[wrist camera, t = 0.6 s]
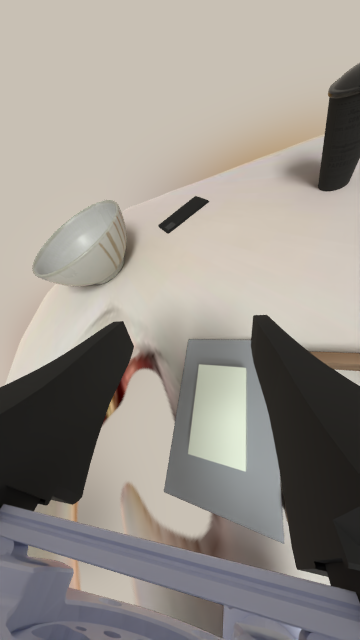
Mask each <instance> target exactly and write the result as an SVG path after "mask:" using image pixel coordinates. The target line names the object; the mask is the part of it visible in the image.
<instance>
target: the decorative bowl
mask: <svg viewBox="0 0 360 640" xmlns="http://www.w3.org/2000/svg"><path fill="white" fill-rule="evenodd" d="M126 244H127V236H126V227H125V223H124V219H123V216H122V213H121V210H120V208H119V206H118V204H117V203H116V202H114V201H111V200H106V201H102V202H99V203H96V204H94V205H92V206H90V207H88V208H86V209H84V210H83V211H81V212H79V213H78V214H76V215H75V216H74V217H72V218H71V219H70V220H68V221H67V222H66V223H65V224H64V225H62V226H61V227H60V228H59V229H58V230H57V231H56V232H55V233H54V234H53V235H52V236H51V237H50V238H49V239H48V241H47V242H46V243H45V244H44V245H43V247H42V248H41V250H40V251H39V253H38V254H37V256H36V258H35V260H34V263H33V268H32V269H33V273H34V274H35V275H36V276H37V277H40V278H42V279H45V280H47V281H50V282H53V283H57V284H61V285H67V286H87V285H92V284H96V285H99V284H103V283H106V282H108V281H109V280H111V279H112V278H113V277H115V276H116V275H117V274H118V272H119V271H120V270H121V268H122V266H123V264H124V254H125V250H126Z"/></svg>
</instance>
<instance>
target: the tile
mask: <svg viewBox="0 0 360 640" xmlns="http://www.w3.org/2000/svg"><path fill="white" fill-rule="evenodd" d="M188 454H190V455H193V456H196V457H200V458H203V459H206V460H209V461H213V462H216V463H219V464H222V465H226V466H229V467H232V468H235V469H239V470H242V471H245V472H246V470H247V370H246V368H242V367H229V366H215V365H202V364H199V369H198V377H197V385H196V393H195V401H194V409H193V417H192V425H191V433H190V441H189V449H188Z"/></svg>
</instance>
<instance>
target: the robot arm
mask: <svg viewBox="0 0 360 640" xmlns="http://www.w3.org/2000/svg"><path fill="white" fill-rule="evenodd" d="M133 348H134V346H133V343H132V341H131V339H130V336H129V334H128V332H127V329H126V327H125V325H124V322H123V321H121V322H113V323H111V324H109V325H108V326H106V327H104V328H103V329H101V330H100V331H98V332H97V333H95V334H94V335H92V336H91V337H90V338H88V339H87V340H85V341H84V342H82V343H81V344H79V345H78V346H76V347H75V348H73V349H71V350H70V351H68V352H67V353H65V354H64V355H62V356H60V357H59V358H57V359H55V360H54V361H52V362H50V363H48V364H47V365H45V366H43V367H41V368H39V369H37V370H36V371H34V372H32V373H30V374H28V375H25V376H23V377H21V378H19V379H17V380H15V381H13V382H11V383H9V384H7V385H5V386H2V387H0V640H360V386H358V385H357V384H355V383H354V382H352V381H350V380H349V379H347V378H346V377H344V376H343V375H341V374H340V373H338V372H337V371H335V370H334V369H332V368H331V367H329V366H328V365H326V364H325V363H323V362H322V361H321V360H319V359H318V358H317V357H315V356H314V355H313V354H311V353H310V352H309V351H307V350H306V349H305V348H304V347H302V346H301V345H300V344H299V343H297V342H296V341H295V340H294V339H293V338H292V337H290V336H289V335H288V334H287V333H286V332H285V331H284V330H283V329H281V328H280V327H279V326H278V325H277V324H276V323H275V322H274V321H273V320H272V319H271V318H270V317H268V316H267V315H254V316H253V326H252V337H251V350H252V357H253V362H254V366H255V369H256V373H257V376H258V379H259V383H260V386H261V389H262V393H263V396H264V399H265V402H266V406H267V410H268V414H269V418H270V423H271V428H272V433H273V438H274V443H275V449H276V454H277V459H278V465H279V470H280V476H281V482H282V488H283V493H284V500H285V506H286V512H287V518H288V525H289V531H290V538H291V544H292V550H293V554H294V559H295V563H296V567H297V569H298V570H302V571H306V572H310V573H314V574H318V575H323V576H327V577H329V580H330V584H331V586H329V585H325V584H321V583H317V582H313V581H309V580H305V579H301V578H297V577H293V576H289V575H285V574H281V573H277V572H273V571H269V570H265V569H261V568H257V567H253V566H249V565H245V564H241V563H237V562H233V561H229V560H225V559H221V558H217V557H213V556H209V555H205V554H201V553H197V552H193V551H190V550H186V549H182V548H178V547H174V546H170V545H166V544H162V543H158V542H154V541H150V540H146V539H142V538H138V537H134V536H130V535H126V534H122V533H118V532H114V531H110V530H105V529H101V528H98V527H94V526H90V525H86V524H82V523H78V522H74V521H70V520H66V519H62V518H58V517H54V516H50V515H46V514H42V513H38V512H34V510H35V508H36V506H37V504H42V505H46V506H47V505H48V504H49V502H50V500H55V501H59V502H64V503H68V504H72V505H73V504H75V503H76V502H77V501H79V500H80V498H81V497H82V495H83V490H84V486H85V482H86V478H87V474H88V470H89V466H90V463H91V459H92V456H93V452H94V449H95V445H96V441H97V439H98V436H99V433H100V430H101V427H102V424H103V421H104V418H105V415H106V412H107V410H108V407H109V404H110V402H111V399H112V397H113V395H114V393H115V391H116V389H117V387H118V385H119V383H120V380H121V378H122V376H123V374H124V372H125V370H126V368H127V366H128V363H129V361H130V358H131V355H132V352H133ZM28 545H29V546H33V547H36V548H39V549H42V550H46V551H49V552H52V553H55V554H59V555H62V556H65V557H68V558H72V559H75V560H78V561H81V562H85V563H88V564H91V565H94V566H98V567H101V568H104V569H107V570H111V571H114V572H117V573H120V574H124V575H127V576H130V577H134V578H137V579H140V580H143V581H147V582H150V583H153V584H156V585H160V586H163V587H166V588H169V589H173V590H176V591H179V592H182V593H186V594H189V595H192V596H195V597H199V598H202V599H205V600H208V601H212V602H215V603H218V604H221V605H224V615H223V638H221V637H218V636H216V635H214V634H211V633H209V632H207V631H204V630H202V629H200V628H197V627H195V626H192V625H190V624H188V623H185V622H183V621H180V620H177V619H175V618H172V617H169V616H167V615H164V614H161V613H158V612H155V611H152V610H149V609H145V608H142V607H139V606H135V605H132V604H128V603H125V602H121V601H117V600H114V599H109V598H106V597H102V596H99V595H95V594H91V593H87V592H84V591H80V590H76V589H73V588H69V584H70V581H71V579H72V576H73V573H74V572H73V568H71V567H69V566H68V565H66V564H64V563H62V562H59V561H55V560H50V559H43V558H36V557H28V556H27V550H28Z"/></svg>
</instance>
